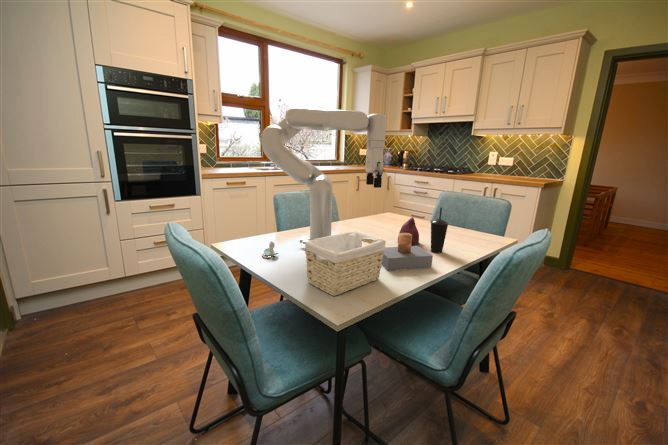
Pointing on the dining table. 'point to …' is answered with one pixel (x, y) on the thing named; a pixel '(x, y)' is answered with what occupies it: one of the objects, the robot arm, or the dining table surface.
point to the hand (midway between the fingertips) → (373, 185)
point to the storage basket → (343, 261)
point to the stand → (406, 259)
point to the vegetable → (411, 231)
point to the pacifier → (270, 251)
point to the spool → (404, 243)
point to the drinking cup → (438, 234)
